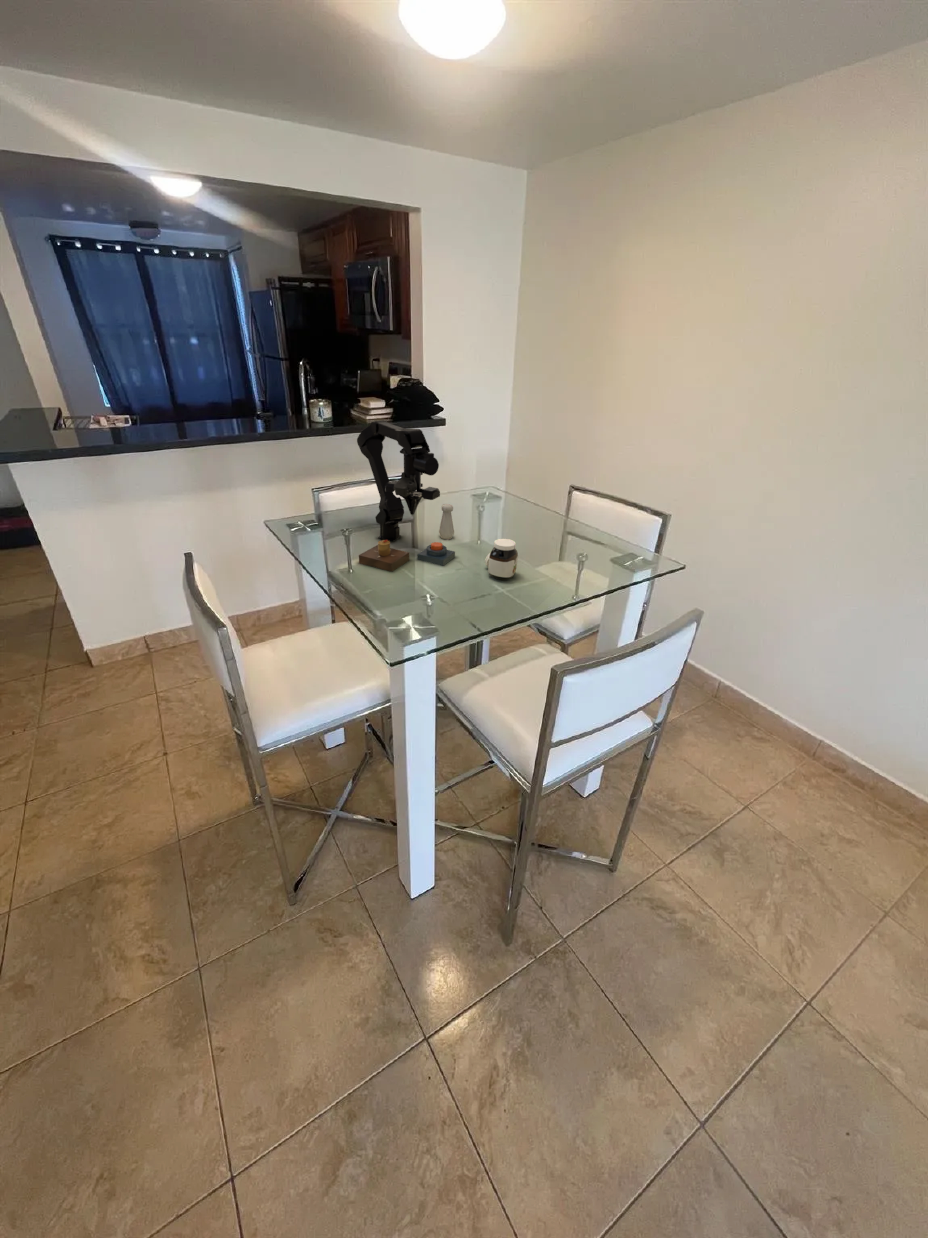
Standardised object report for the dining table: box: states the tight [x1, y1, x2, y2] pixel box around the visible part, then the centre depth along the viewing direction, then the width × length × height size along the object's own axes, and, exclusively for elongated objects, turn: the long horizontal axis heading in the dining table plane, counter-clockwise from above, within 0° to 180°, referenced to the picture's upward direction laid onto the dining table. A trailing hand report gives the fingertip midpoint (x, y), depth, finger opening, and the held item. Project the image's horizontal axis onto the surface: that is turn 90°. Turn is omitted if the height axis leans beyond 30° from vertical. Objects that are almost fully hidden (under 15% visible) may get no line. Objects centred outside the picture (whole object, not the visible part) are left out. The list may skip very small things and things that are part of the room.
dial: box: [377, 539, 391, 556], centre depth 171 cm, size 4×4×4 cm
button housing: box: [417, 544, 456, 567], centre depth 177 cm, size 10×9×4 cm
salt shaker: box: [438, 503, 455, 541], centre depth 193 cm, size 6×6×13 cm
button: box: [430, 541, 444, 550], centre depth 176 cm, size 4×4×2 cm
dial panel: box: [358, 544, 410, 572], centre depth 172 cm, size 13×11×3 cm
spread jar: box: [484, 538, 519, 581], centre depth 167 cm, size 12×11×12 cm
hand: (412, 514), depth 178 cm, fingers closed
